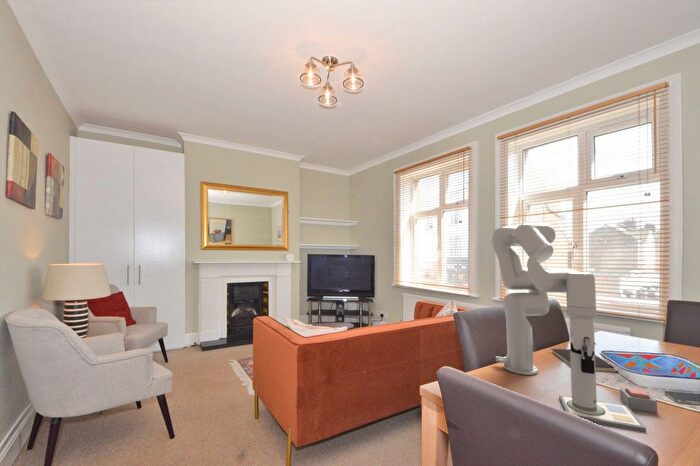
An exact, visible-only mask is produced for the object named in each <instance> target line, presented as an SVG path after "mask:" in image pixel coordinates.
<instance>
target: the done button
mask: <svg viewBox="0 0 700 466" xmlns="http://www.w3.org/2000/svg"><path fill="white" fill-rule="evenodd" d="M625 389H626V392H627V393H628V394H629V395H630V396H632V397H639V398H646V399H649V395H648V394H647V393H646V392H647V391H645V390H644V389H643V388H634V387H627V386H626V387H625Z"/></svg>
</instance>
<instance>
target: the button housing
mask: <svg viewBox="0 0 700 466" xmlns="http://www.w3.org/2000/svg"><path fill="white" fill-rule="evenodd" d="M645 392H646V393H647V394H648V395H649V399H646V398H639V397H632V396H630V395H629V394H628V393H627V392H626V388H621V387H620V388H619V395H620V396H619V400H621V401H622V403H623V405H627V406H628V407H629V409H630V410H636V411H644V412H650V413H658V401H657V400H656V399H655V398H654V396H652V395H651V394H650V393H649V392H648V391H645Z"/></svg>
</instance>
